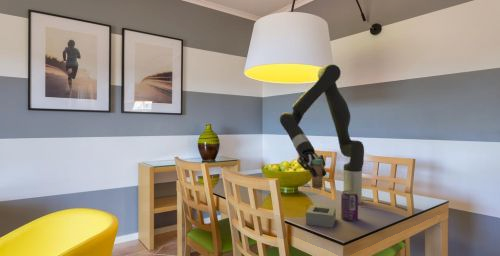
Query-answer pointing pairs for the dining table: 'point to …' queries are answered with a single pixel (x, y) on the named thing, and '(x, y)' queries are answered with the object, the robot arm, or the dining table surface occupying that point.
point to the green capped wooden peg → (318, 168)
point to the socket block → (321, 216)
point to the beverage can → (349, 205)
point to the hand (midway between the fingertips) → (320, 175)
